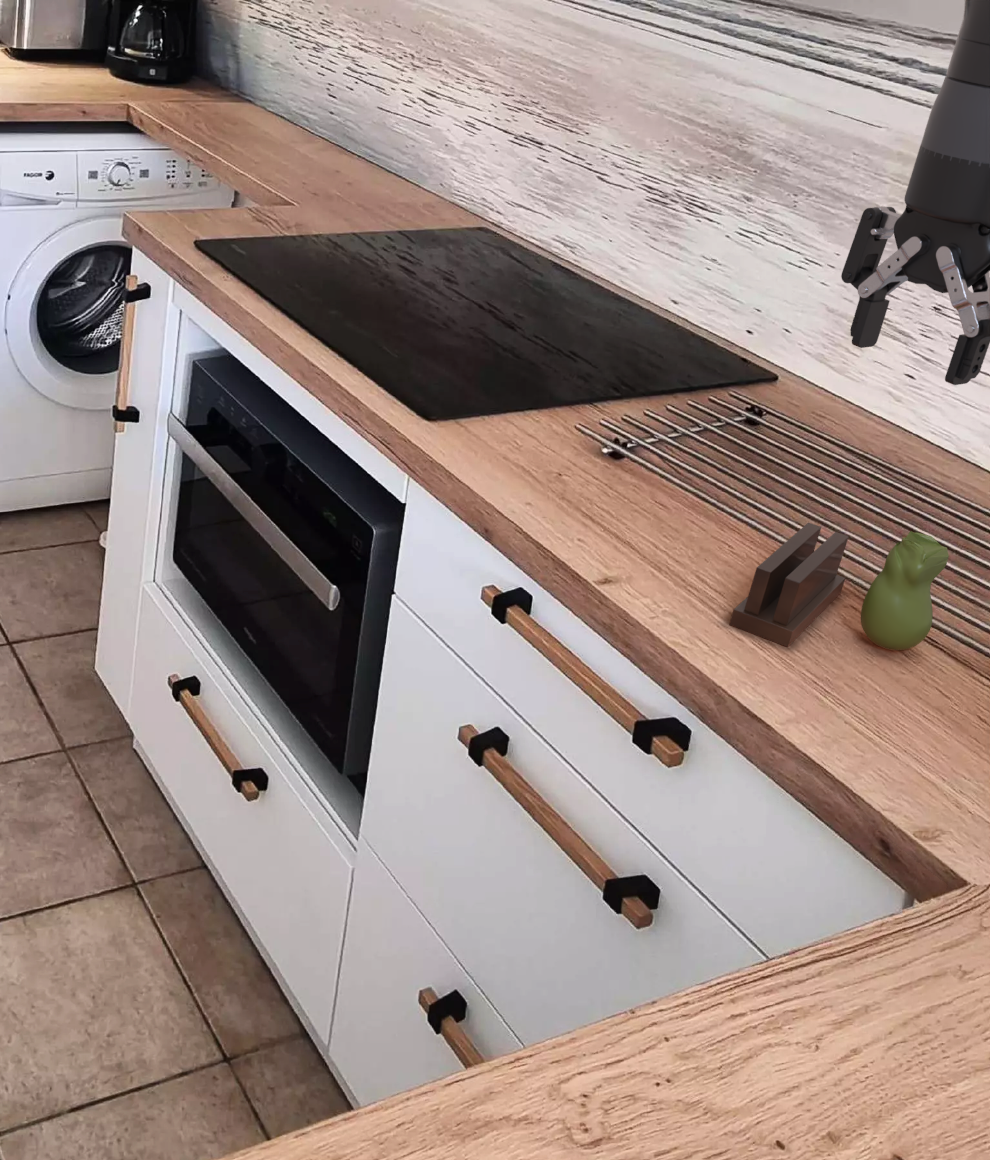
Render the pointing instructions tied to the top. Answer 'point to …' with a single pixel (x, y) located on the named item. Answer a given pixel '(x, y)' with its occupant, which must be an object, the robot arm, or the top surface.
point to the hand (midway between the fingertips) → (908, 363)
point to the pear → (903, 593)
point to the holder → (792, 587)
